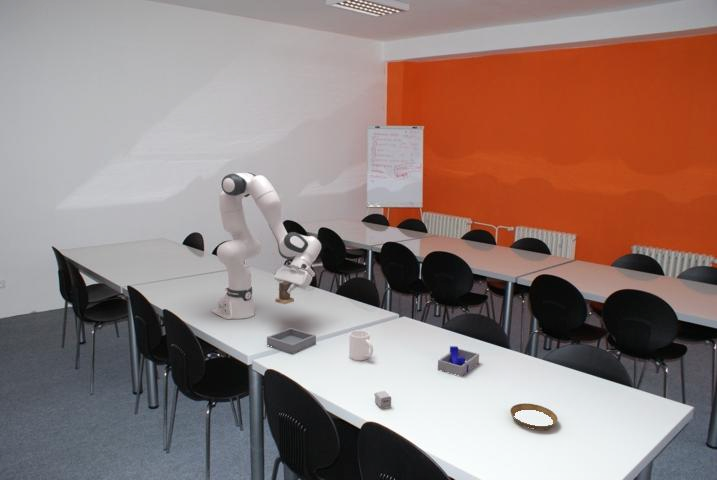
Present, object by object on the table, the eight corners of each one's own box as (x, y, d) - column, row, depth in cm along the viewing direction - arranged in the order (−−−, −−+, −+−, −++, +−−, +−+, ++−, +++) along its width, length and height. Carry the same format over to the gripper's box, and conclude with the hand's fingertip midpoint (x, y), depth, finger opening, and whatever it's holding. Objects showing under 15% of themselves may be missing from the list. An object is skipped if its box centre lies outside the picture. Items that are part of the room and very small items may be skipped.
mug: (379, 360, 221) (380, 336, 219) (364, 365, 215) (365, 341, 213) (359, 351, 229) (360, 328, 227) (345, 356, 224) (345, 333, 222)
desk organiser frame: (437, 369, 213) (438, 360, 212) (455, 356, 226) (456, 347, 226) (461, 376, 207) (461, 367, 206) (478, 363, 221) (479, 354, 220)
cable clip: (467, 372, 211) (469, 358, 210) (456, 372, 211) (457, 358, 210) (459, 360, 223) (460, 346, 222) (449, 359, 222) (450, 346, 221)
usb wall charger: (380, 409, 181) (380, 398, 180) (371, 399, 187) (372, 389, 187) (391, 407, 183) (391, 396, 182) (382, 398, 189) (382, 387, 188)
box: (267, 345, 233) (266, 336, 232) (290, 336, 245) (290, 327, 244) (292, 354, 224) (292, 345, 224) (315, 343, 237) (315, 335, 236)
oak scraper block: (275, 301, 248) (275, 282, 246) (284, 298, 252) (285, 280, 250) (284, 304, 244) (284, 285, 242) (293, 301, 248) (294, 282, 247)
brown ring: (546, 410, 183) (547, 403, 183) (564, 433, 169) (565, 426, 168) (504, 410, 183) (504, 403, 182) (517, 433, 168) (518, 425, 168)
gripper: (280, 259, 257) (265, 283, 251) (311, 267, 244) (295, 292, 238) (287, 267, 261) (272, 290, 255) (317, 275, 248) (302, 299, 242)
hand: (283, 291), depth 247 cm, fingers closed on oak scraper block, 4 cm apart
